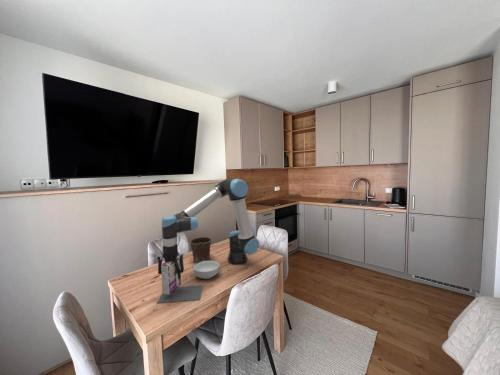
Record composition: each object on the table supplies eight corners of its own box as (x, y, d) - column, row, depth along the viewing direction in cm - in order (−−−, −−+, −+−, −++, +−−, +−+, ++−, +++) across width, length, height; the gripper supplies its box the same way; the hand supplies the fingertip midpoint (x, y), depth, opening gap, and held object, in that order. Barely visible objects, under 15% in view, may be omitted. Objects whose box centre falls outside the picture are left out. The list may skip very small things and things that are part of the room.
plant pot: (187, 264, 152) (186, 243, 151) (195, 256, 168) (194, 236, 167) (208, 265, 150) (207, 244, 149) (214, 256, 166) (213, 237, 165)
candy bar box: (173, 283, 120) (172, 256, 119) (181, 284, 120) (180, 256, 118) (161, 294, 110) (160, 264, 108) (170, 295, 109) (169, 265, 107)
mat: (202, 285, 123) (202, 284, 123) (199, 300, 109) (199, 299, 109) (165, 288, 121) (165, 287, 121) (156, 303, 107) (156, 302, 107)
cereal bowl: (223, 271, 142) (223, 261, 141) (214, 283, 125) (213, 272, 125) (200, 269, 145) (200, 259, 145) (188, 281, 129) (188, 270, 128)
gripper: (189, 241, 117) (190, 280, 119) (154, 243, 116) (156, 282, 117) (186, 246, 110) (187, 287, 112) (149, 247, 108) (151, 289, 110)
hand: (171, 284), depth 114 cm, fingers closed on candy bar box, 6 cm apart
